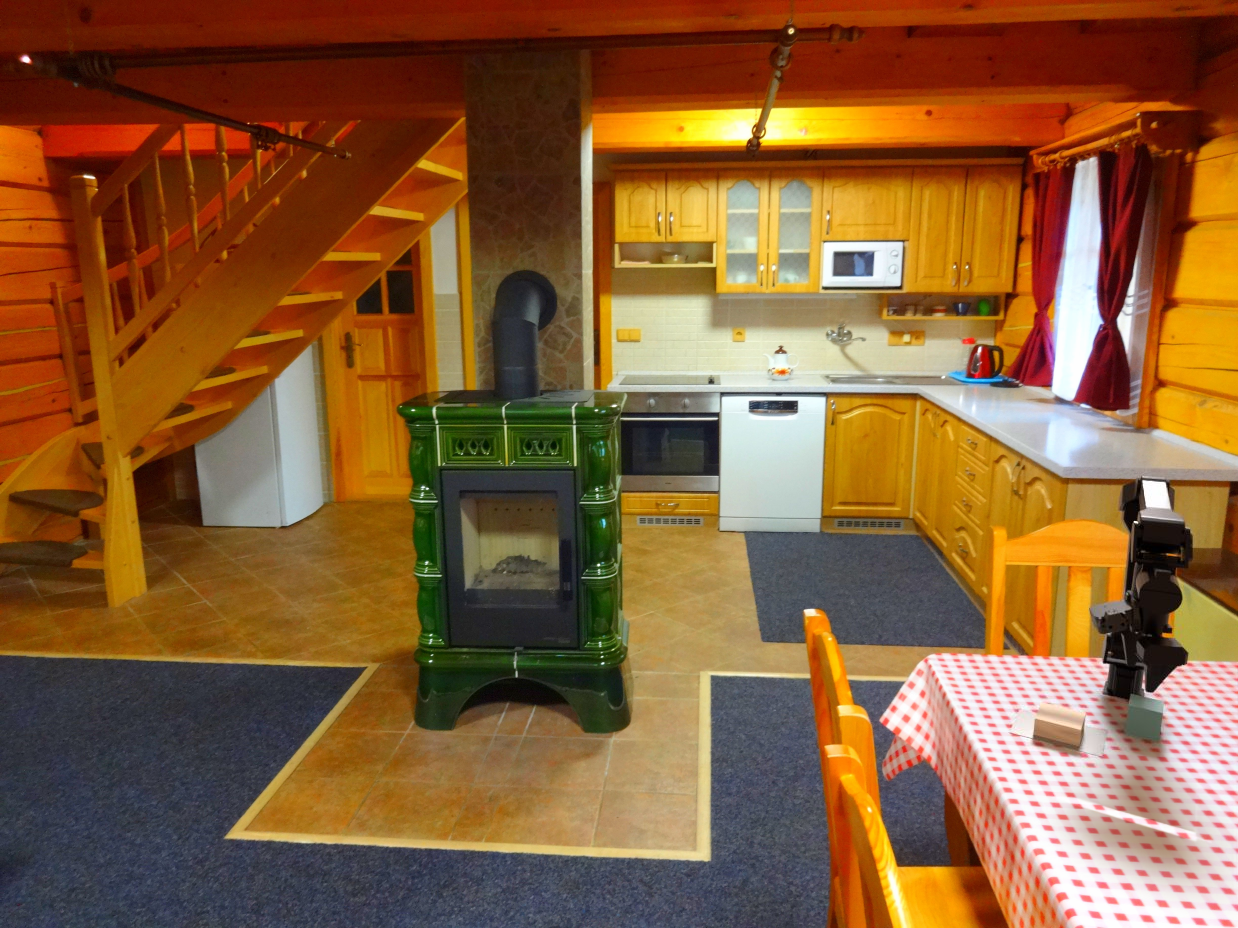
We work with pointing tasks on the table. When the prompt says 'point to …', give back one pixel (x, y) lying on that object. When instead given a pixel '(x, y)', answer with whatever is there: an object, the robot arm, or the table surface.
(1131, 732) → the teal block
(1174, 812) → the table surface
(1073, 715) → the maple base block
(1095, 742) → the baseplate
